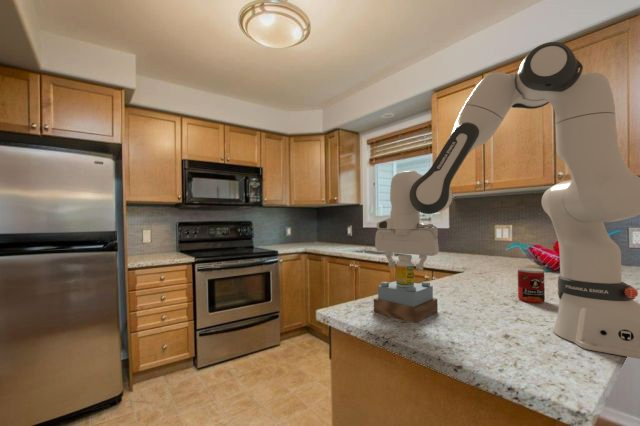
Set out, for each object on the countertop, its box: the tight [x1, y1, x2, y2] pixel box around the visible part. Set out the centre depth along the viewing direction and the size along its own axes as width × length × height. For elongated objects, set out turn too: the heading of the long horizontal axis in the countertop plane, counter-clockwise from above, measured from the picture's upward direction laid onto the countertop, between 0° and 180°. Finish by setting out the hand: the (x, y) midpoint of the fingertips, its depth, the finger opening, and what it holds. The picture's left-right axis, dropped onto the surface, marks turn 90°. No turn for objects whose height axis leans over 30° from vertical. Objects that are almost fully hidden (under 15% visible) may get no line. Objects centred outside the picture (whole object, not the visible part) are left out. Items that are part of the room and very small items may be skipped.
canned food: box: [517, 267, 546, 304], centre depth 105 cm, size 8×8×11 cm
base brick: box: [373, 297, 439, 324], centre depth 93 cm, size 14×14×4 cm
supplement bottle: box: [395, 253, 415, 288], centre depth 93 cm, size 5×5×10 cm
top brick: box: [377, 280, 434, 307], centre depth 93 cm, size 12×12×5 cm
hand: (405, 267), depth 93 cm, fingers open, 8 cm apart
